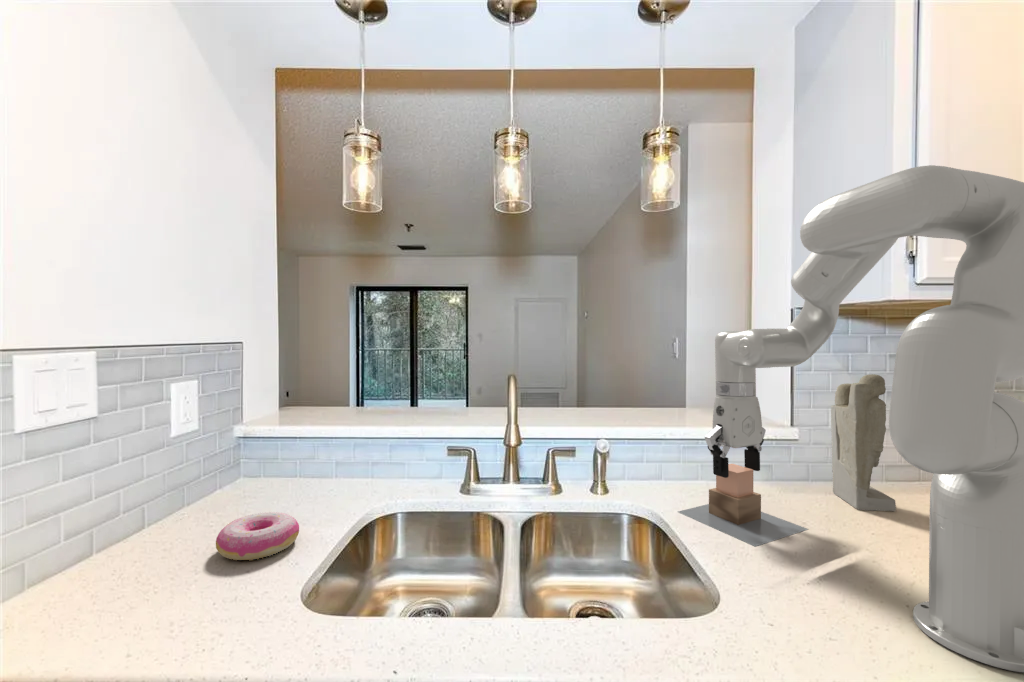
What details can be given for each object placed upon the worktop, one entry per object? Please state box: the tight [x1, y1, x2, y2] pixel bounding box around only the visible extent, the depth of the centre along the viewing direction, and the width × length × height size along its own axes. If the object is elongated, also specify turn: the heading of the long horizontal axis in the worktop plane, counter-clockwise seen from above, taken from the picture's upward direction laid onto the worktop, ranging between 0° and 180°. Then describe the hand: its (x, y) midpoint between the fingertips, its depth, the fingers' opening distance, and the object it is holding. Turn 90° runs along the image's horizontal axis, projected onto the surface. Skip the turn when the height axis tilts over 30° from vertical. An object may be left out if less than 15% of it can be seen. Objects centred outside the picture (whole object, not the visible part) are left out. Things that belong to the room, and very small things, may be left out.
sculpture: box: [830, 373, 897, 512], centre depth 104 cm, size 15×8×30 cm, turn 168°
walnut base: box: [708, 487, 762, 525], centre depth 95 cm, size 7×7×5 cm
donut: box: [215, 511, 300, 561], centre depth 84 cm, size 14×13×5 cm
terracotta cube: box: [715, 463, 754, 498], centre depth 95 cm, size 5×5×5 cm
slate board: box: [677, 503, 809, 548], centre depth 93 cm, size 18×16×1 cm
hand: (736, 472), depth 94 cm, fingers open, 9 cm apart
